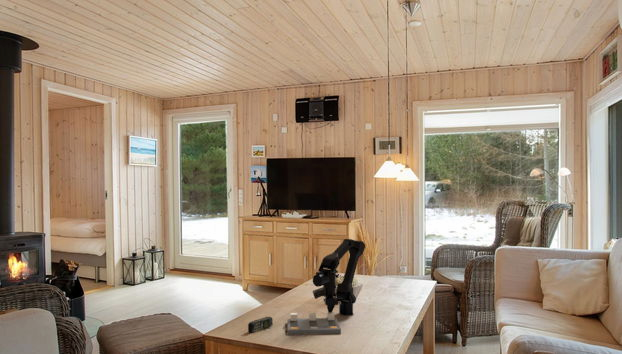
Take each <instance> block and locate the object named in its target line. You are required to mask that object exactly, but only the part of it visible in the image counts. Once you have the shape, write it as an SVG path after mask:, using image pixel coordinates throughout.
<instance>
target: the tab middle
mask: <svg viewBox="0 0 622 354" xmlns="http://www.w3.org/2000/svg"><path fill="white" fill-rule="evenodd" d="M316 316H317V315H316V312H309V314H308V318H309V321H316V318H317V317H316Z"/></svg>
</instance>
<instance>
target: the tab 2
mask: <svg viewBox="0 0 622 354" xmlns="http://www.w3.org/2000/svg"><path fill="white" fill-rule="evenodd" d="M327 318H328V320H334V318H335V312H333V311H332V312H328V311H327Z"/></svg>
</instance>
